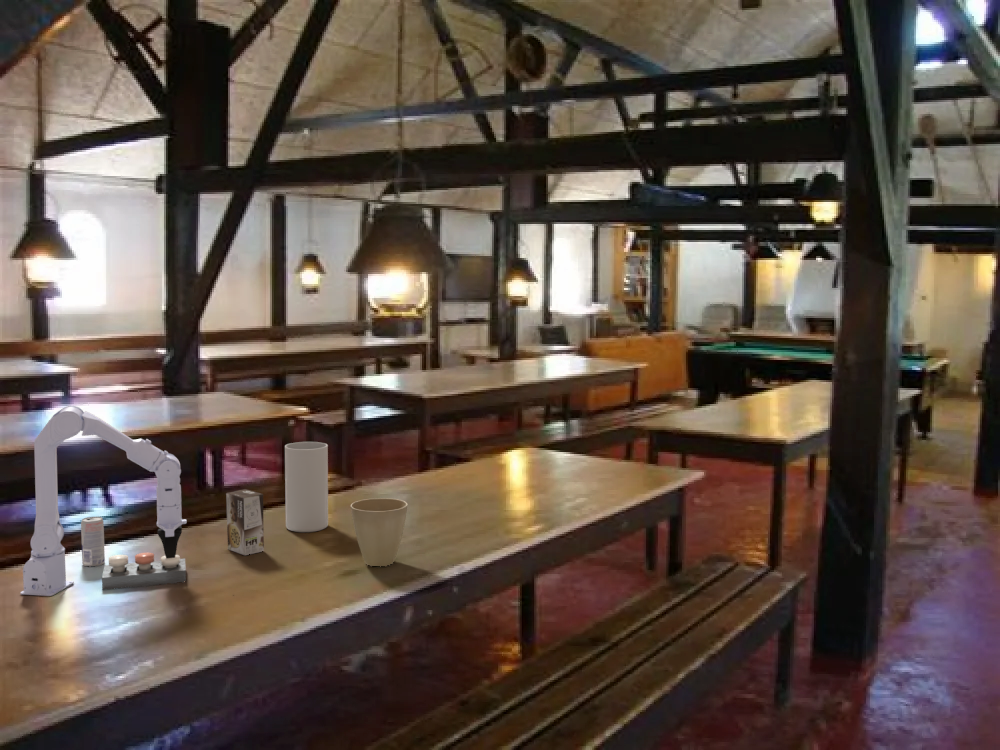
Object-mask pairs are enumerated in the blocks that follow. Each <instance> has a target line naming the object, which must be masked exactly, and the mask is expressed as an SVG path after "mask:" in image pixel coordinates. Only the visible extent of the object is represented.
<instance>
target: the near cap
mask: <svg viewBox="0 0 1000 750" xmlns="http://www.w3.org/2000/svg"><path fill="white" fill-rule="evenodd" d="M128 563H129V556H128V555H127V554H116V555H115V554H114V555H111V556H110V557H108V565H109V566H113V573H116V572H125V565H127V564H128Z"/></svg>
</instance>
